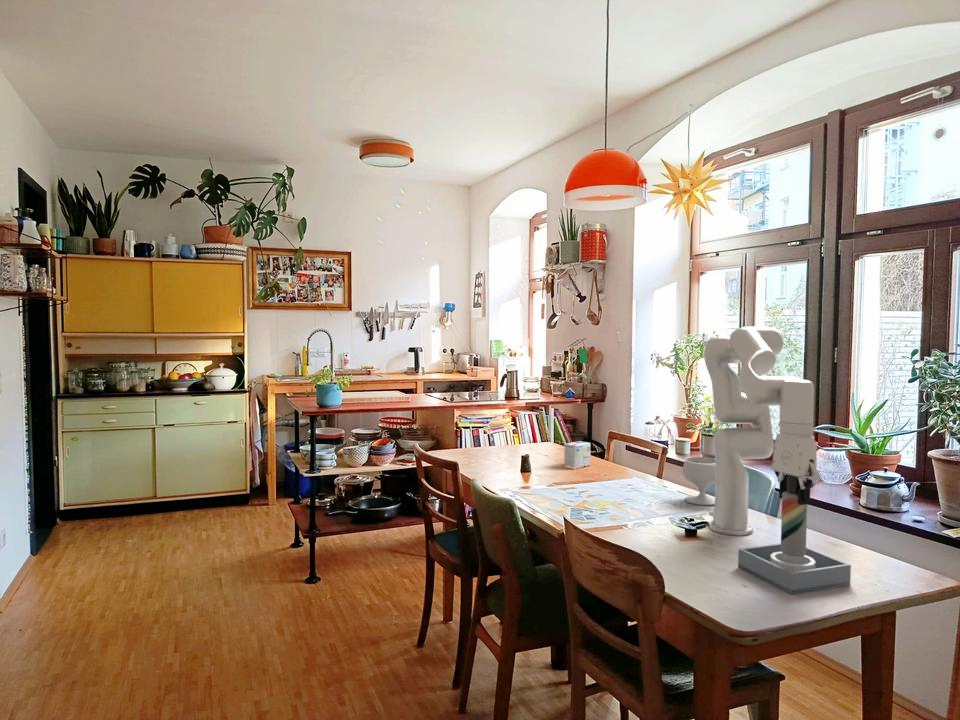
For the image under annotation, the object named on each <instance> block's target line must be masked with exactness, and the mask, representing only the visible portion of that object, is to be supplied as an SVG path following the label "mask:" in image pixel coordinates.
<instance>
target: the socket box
mask: <svg viewBox="0 0 960 720" xmlns="http://www.w3.org/2000/svg"><path fill="white" fill-rule="evenodd" d="M737 554H738V559H737V561H738V562H737V566H738V567H737V568H738V569H740V570H742V571H744V572H746V573H748V574H750V575H752V576H753V577H756V578H758V579H759V580H762V581H764V582H766V583H767V584H769V585H771V586H773V587H776V588H778V589H780V590H781V591H783V592H785V593H786V594H789V595H792V596H793V595H797V594H802V593H803V594H804V593H810V592H817V591H823V590H829V589H834V588H840V587H847V586H848V587H849V586H851V570H852V569H851V568H852V566H851V564H849V563H848V562H844V561H842V560H839V559H837V558H835V557H832V556H830V555H828V554H825V553H823V552H821V551H818V550H815V549H812V548H810V547H808V546H806V554H805V556H801V557H795V556H789V555H786V554H783V553H782V552H781V542H780V543H772V544H767V545H766V544H763V545H756V546H749V547H742V548H738V553H737Z"/></svg>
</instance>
